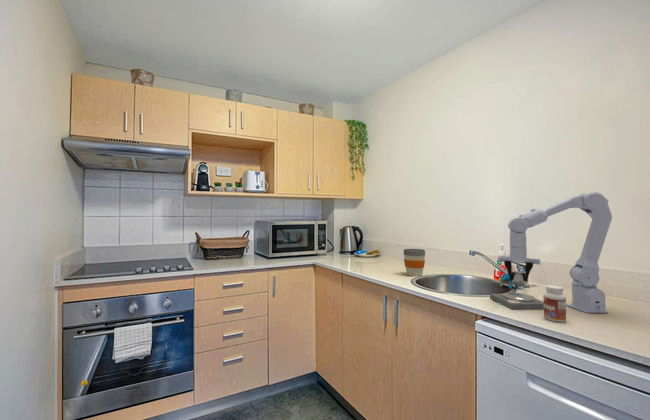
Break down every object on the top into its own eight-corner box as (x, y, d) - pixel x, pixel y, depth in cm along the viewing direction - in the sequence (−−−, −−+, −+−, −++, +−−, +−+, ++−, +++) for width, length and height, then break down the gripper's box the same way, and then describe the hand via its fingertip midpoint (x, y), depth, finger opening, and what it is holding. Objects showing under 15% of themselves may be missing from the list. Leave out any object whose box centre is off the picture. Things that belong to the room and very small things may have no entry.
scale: (549, 309, 113) (548, 302, 113) (512, 309, 113) (512, 302, 113) (522, 298, 128) (522, 292, 128) (490, 298, 128) (489, 292, 128)
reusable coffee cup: (411, 272, 187) (411, 248, 188) (429, 275, 178) (429, 250, 178) (399, 274, 179) (399, 249, 180) (417, 278, 170) (417, 251, 170)
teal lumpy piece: (528, 285, 145) (519, 271, 142) (526, 295, 142) (516, 282, 139) (504, 284, 154) (495, 271, 151) (502, 293, 151) (492, 281, 149)
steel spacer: (528, 285, 120) (527, 273, 121) (516, 285, 121) (516, 273, 121) (521, 283, 125) (520, 271, 125) (509, 283, 125) (509, 271, 125)
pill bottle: (539, 316, 106) (538, 284, 106) (555, 315, 106) (554, 284, 106) (554, 322, 99) (553, 289, 100) (571, 322, 100) (570, 288, 100)
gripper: (539, 247, 122) (539, 280, 122) (498, 245, 130) (498, 276, 130) (540, 249, 116) (540, 284, 116) (497, 247, 124) (497, 279, 124)
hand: (518, 280), depth 123 cm, fingers closed on steel spacer, 5 cm apart
